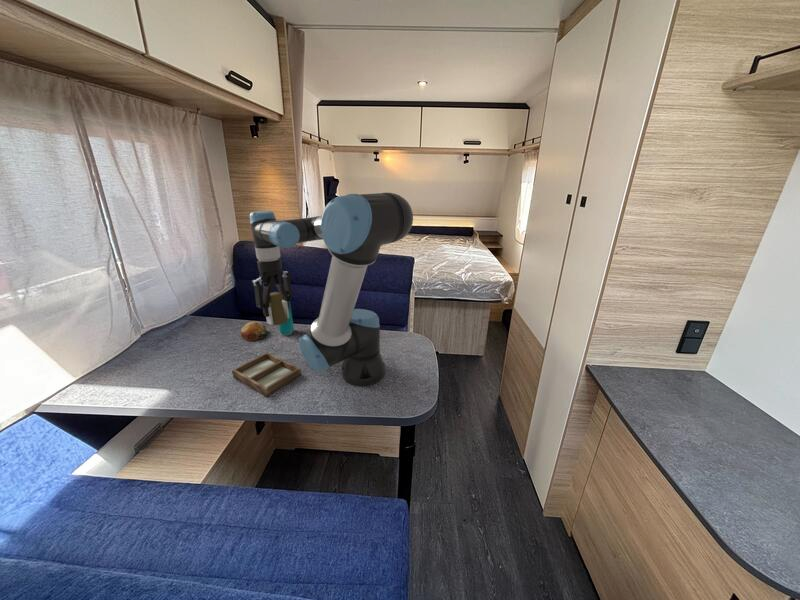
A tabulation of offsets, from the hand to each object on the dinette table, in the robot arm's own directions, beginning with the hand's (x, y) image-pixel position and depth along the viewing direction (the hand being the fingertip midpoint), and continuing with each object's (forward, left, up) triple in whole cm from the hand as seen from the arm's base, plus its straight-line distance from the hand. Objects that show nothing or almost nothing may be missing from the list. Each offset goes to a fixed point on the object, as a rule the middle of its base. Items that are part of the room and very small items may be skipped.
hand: (278, 320), depth 114 cm
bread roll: (+23, -3, -15) cm, 28 cm away
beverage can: (+13, -12, -15) cm, 24 cm away
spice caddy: (-7, +12, -15) cm, 20 cm away
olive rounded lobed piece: (0, 0, -1) cm, 1 cm away
